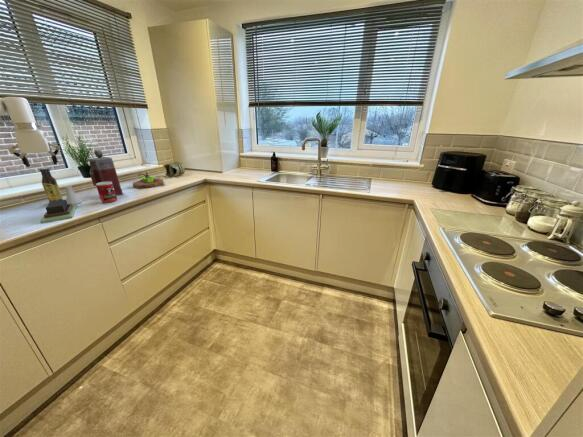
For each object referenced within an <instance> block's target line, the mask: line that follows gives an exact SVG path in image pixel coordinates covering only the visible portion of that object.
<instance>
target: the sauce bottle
mask: <svg viewBox="0 0 583 437" xmlns="http://www.w3.org/2000/svg"><path fill="white" fill-rule="evenodd" d="M38 170H39V172H40V174H41V176H42V177H41V184H42V188H43V190H44V193H45V195H46V198H47V201H48V202H49V203H50V202H52V201H59V200H64V199H63V196H62V192H61V190H60V187H59V185H58V182H57V180H56V178H55V177H54V176H52V173H51V170H50V167H40V168H38Z"/></svg>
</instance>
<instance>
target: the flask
mask: <svg viewBox="0 0 583 437" xmlns="http://www.w3.org/2000/svg"><path fill="white" fill-rule="evenodd" d="M63 187H64V189H65V193H66V194H65V196H66V198H65V200H66V201H67V204H73V205H75V204H76V205H77V204H81V203H83V201H82V199H80V198H79V196H78V195H77V194H76V193H75V191H74V190H73V188H72V185H65V186H63Z"/></svg>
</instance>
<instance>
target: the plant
mask: <svg viewBox="0 0 583 437" xmlns="http://www.w3.org/2000/svg"><path fill="white" fill-rule="evenodd" d="M141 175H142V177H141V178H140V176H141ZM137 176H138V177H139V180H137V181H135V182H133V183H132V187H133V188H135V189H139V190H141V189H152V188H156V187H161V186H164V185H165V183H164V179H163V178H156V177H155V176H154V175H150V176H149V170H148V169H146V170H145V174H144V173H138V175H137Z"/></svg>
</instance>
